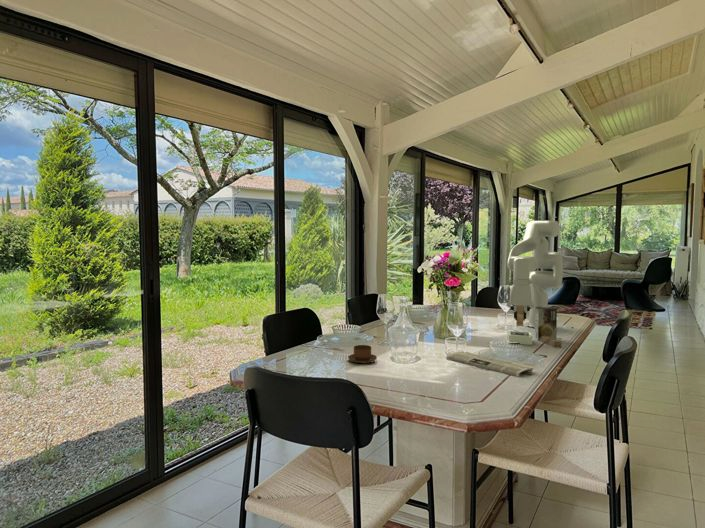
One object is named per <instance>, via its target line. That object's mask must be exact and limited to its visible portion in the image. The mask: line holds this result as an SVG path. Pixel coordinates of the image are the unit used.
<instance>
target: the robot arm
mask: <svg viewBox="0 0 705 528" xmlns="http://www.w3.org/2000/svg"><path fill="white" fill-rule="evenodd" d="M560 226H561V225H560V223H559V222H558V221H557V220H531V221H528V222H527V223H526V225H525V230H524V233H523V237H522V240H521V241H519V242H517V244H515V245H514V246H513V247H512V248H511V250H510V251H509V255H508V257H507V263H506V265H507V269H508V270H509V271H512V272H513V274H512V284H511V285H510V288H509V289H510V290H509V299H508V302H507V303H506V307H508V308H509V309H511V310H512V311H513V319H514V320H515V321H516V320H517V306H524V318H523V322H525V320H526V319H527V313H528V312H529V313H528V314H529V318H528V322H526V325H527V326H526V325H525V326H526V327H528V326H529V327H528V328H532V327H534V328H533V329H535V308H536V307H549V306H548V303H549V301H548V299H549V297H548V296H549V295H548V293H547V291H546V290H545V289H555V290H556V289H560V288H561V287H562V285H563V269H564V267H563V266H564V265H563V255H562V253H560V252H557V251H549V241H548V240H547V237H548V238H549V237H551V238H552V237H553V238H555V237H558V235H560V230H561V227H560ZM529 252H531V256H526V255H525V256H523V255H524V254H526V253H529ZM537 269H543V270H537ZM545 269H546V270H545ZM548 270H549V271H548ZM550 270H552V271H550Z"/></svg>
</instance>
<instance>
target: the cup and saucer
mask: <svg viewBox="0 0 705 528" xmlns="http://www.w3.org/2000/svg"><path fill="white" fill-rule="evenodd" d="M377 358H378V356H376V355H375V354H372V346H370V345H367V344H366V345H365V344H359V345H357V344H356V345H355V346H353V353H352V354H350V355H348V357H347V359H348V360H349V361H351V362H353V363H355V364H369V363H373V362H375V361H376V360H377Z"/></svg>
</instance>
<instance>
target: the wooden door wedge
mask: <svg viewBox="0 0 705 528" xmlns="http://www.w3.org/2000/svg"><path fill="white" fill-rule="evenodd" d="M540 343H543V344H545V345H548V346H550V347H552V348H561V344H562V343H561V341H560V340H557V339H556V340H555V339H553V338H550V337H548V336H541V340H540Z"/></svg>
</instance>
